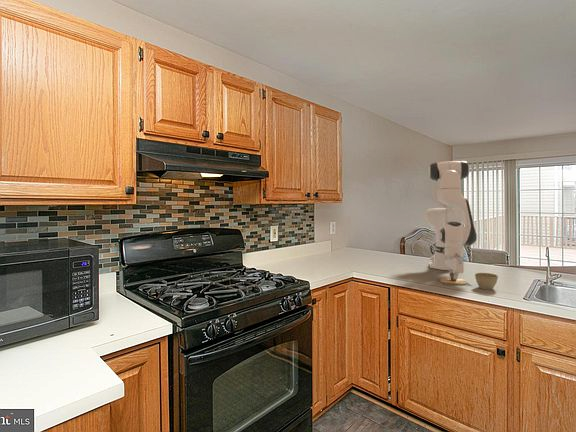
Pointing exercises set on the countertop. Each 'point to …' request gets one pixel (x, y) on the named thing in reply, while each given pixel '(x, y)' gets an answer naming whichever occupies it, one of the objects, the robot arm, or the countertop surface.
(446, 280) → the lid
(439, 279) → the mat
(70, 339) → the countertop surface
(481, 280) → the olive bowl
